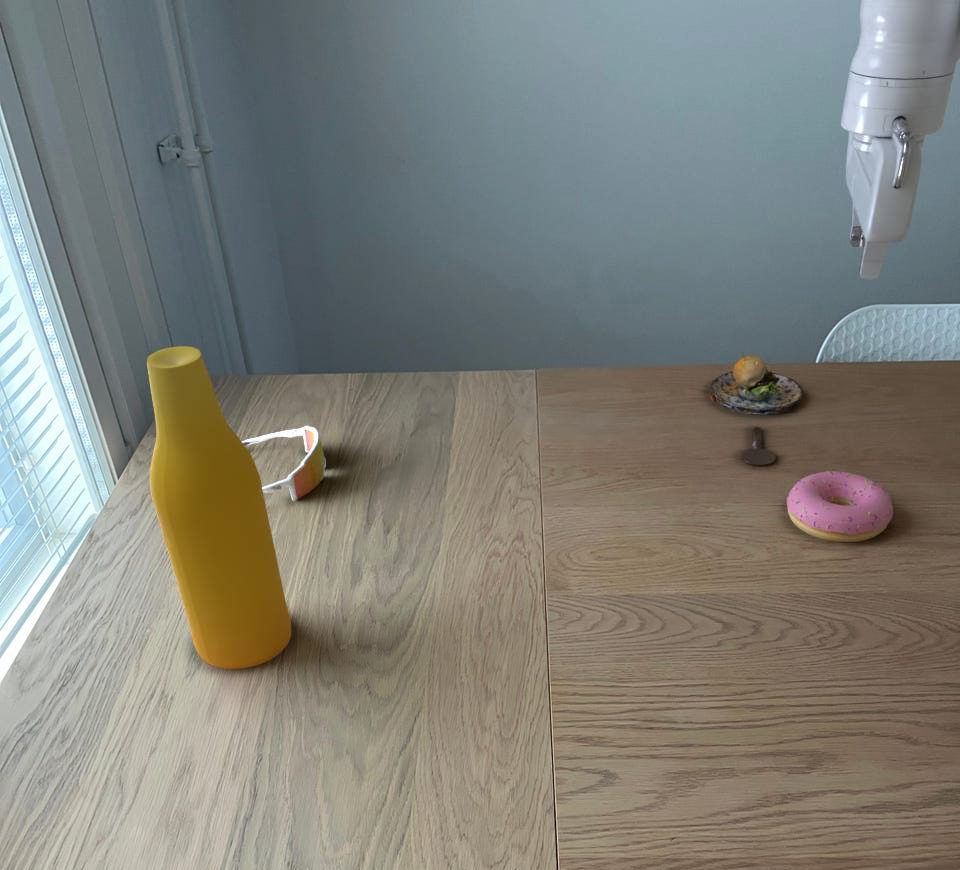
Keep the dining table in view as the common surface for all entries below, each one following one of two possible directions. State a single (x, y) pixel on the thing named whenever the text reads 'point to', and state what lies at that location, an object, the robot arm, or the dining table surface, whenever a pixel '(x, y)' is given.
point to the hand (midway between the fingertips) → (863, 260)
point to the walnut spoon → (757, 452)
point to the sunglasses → (310, 467)
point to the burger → (755, 389)
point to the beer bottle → (213, 519)
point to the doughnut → (839, 506)
